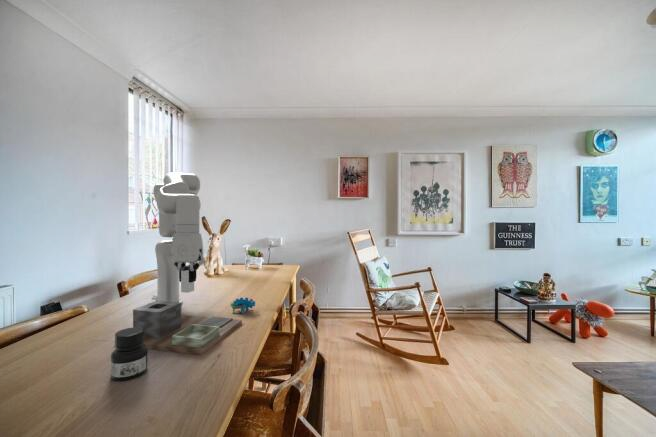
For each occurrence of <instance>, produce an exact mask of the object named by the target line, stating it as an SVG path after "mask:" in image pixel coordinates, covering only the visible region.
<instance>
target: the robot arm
mask: <svg viewBox="0 0 656 437" xmlns="http://www.w3.org/2000/svg"><path fill="white" fill-rule="evenodd" d="M200 188H201V180H200V178H199V177H198V175H196V174H194V173H185V172H184V173H183V172H169V173H167V174H166V175H165V176H164V178H163V182H161V183H160V182H159V183H156V184H155V185H154V187H153V196H154V199H155V203H156V206H157V210H158V233H159V235H160V237H162V238H166V240H161V241H159V242H157V243H156V244H155V247H154V251H155V257H156V264H157V265H156V267H157V270H156V271H157V272H156V273H157V274H156V275H157V276H156V278H157V280H156V282H157V287H156V288H157V294H152V297H151V300H153V301H154V300H155V301H164V302H176V303H181V305H182V304H183V299H182V298H180V283H181V271H180V267H183V266H187V264H189V265H190V271H189V283H191V282H194V283H195V282H197V271H198V270H199V268H200V267H201V266H203V265H204V264H205V263H206V260H205V258H204V246H203V245H204V243H203V238H202V233H201V232H200V210H201V200H200V196H198V194H199V192H200ZM167 238H170V239H167Z"/></svg>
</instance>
